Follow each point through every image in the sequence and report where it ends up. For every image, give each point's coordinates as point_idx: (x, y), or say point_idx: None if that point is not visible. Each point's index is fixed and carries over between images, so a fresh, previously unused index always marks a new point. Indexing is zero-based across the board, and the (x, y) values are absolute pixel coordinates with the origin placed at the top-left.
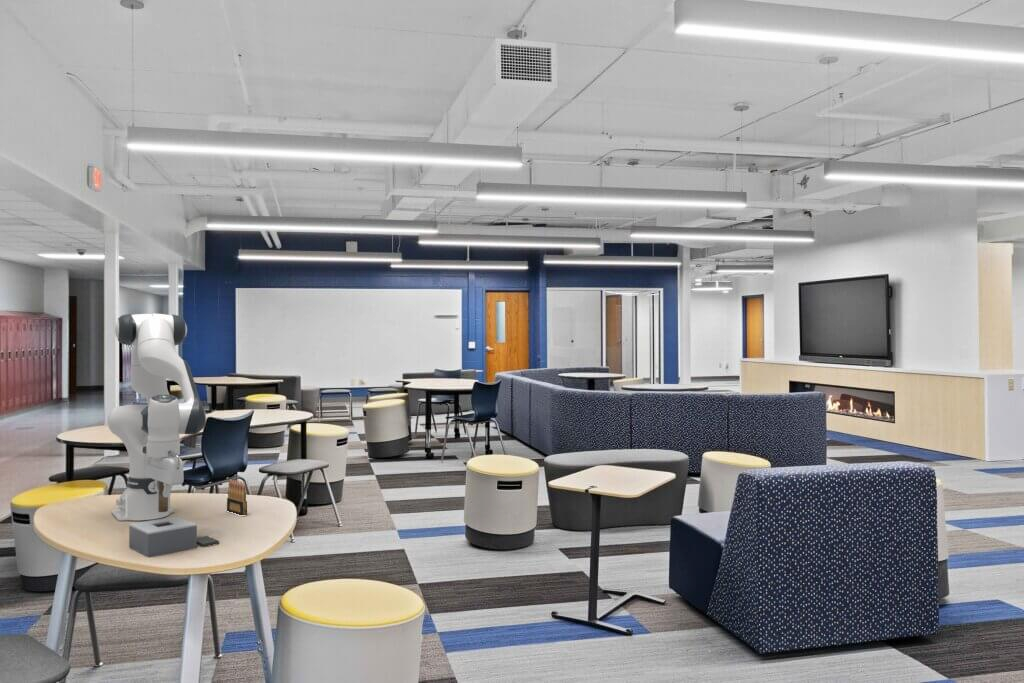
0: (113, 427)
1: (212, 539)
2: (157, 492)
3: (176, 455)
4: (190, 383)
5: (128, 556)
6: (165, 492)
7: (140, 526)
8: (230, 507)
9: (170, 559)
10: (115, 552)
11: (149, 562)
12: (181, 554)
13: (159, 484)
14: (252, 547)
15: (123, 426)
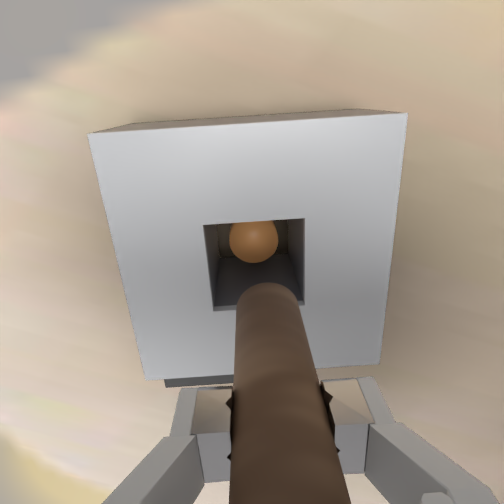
0: None
1: (197, 378)
2: (360, 389)
3: None
4: None
5: (202, 52)
6: (172, 434)
7: (288, 148)
8: None
9: (45, 188)
10: (319, 22)
11: (39, 100)
12: (101, 245)
13: (278, 497)
14: (64, 431)
15: None
